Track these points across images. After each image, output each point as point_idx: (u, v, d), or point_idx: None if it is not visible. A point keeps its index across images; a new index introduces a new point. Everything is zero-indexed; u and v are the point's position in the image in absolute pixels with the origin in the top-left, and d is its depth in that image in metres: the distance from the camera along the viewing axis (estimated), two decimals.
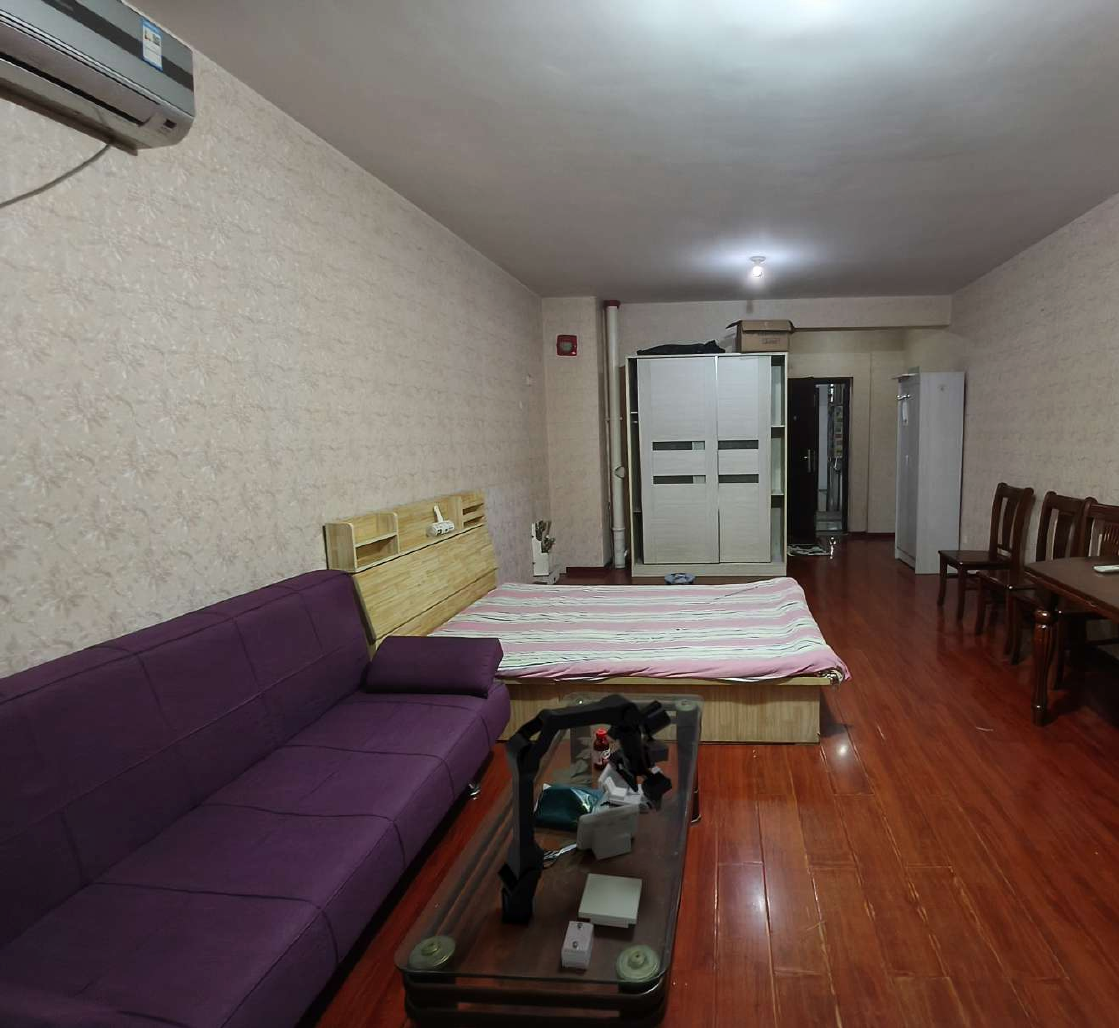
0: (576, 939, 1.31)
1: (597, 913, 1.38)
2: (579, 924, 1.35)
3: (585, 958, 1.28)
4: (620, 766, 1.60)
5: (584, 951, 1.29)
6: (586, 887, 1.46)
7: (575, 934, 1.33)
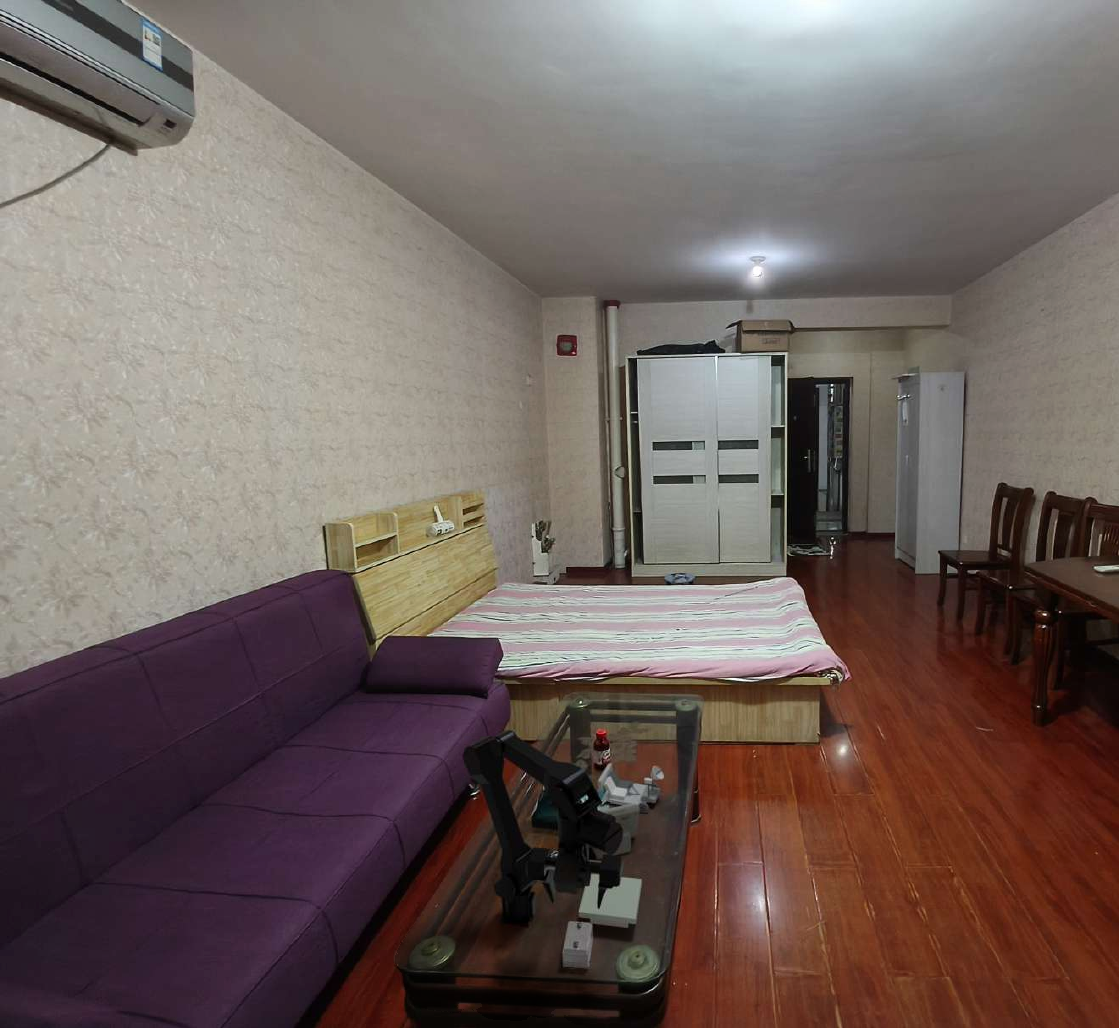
0: (576, 939, 1.31)
1: (597, 913, 1.38)
2: (578, 924, 1.35)
3: (586, 958, 1.28)
4: None
5: (585, 951, 1.29)
6: (586, 887, 1.46)
7: (575, 934, 1.33)
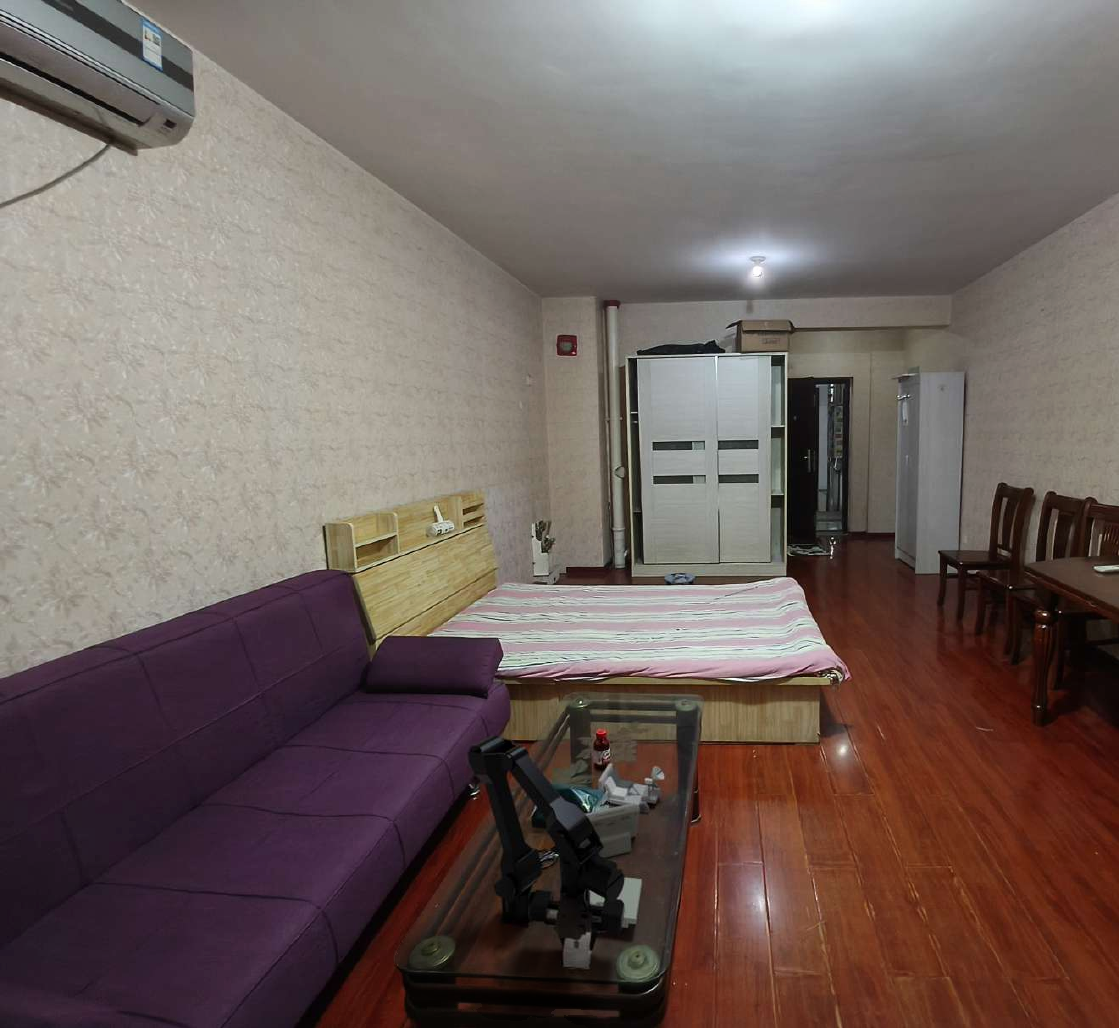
0: None
1: None
2: None
3: (587, 956, 1.28)
4: None
5: (586, 949, 1.29)
6: None
7: None
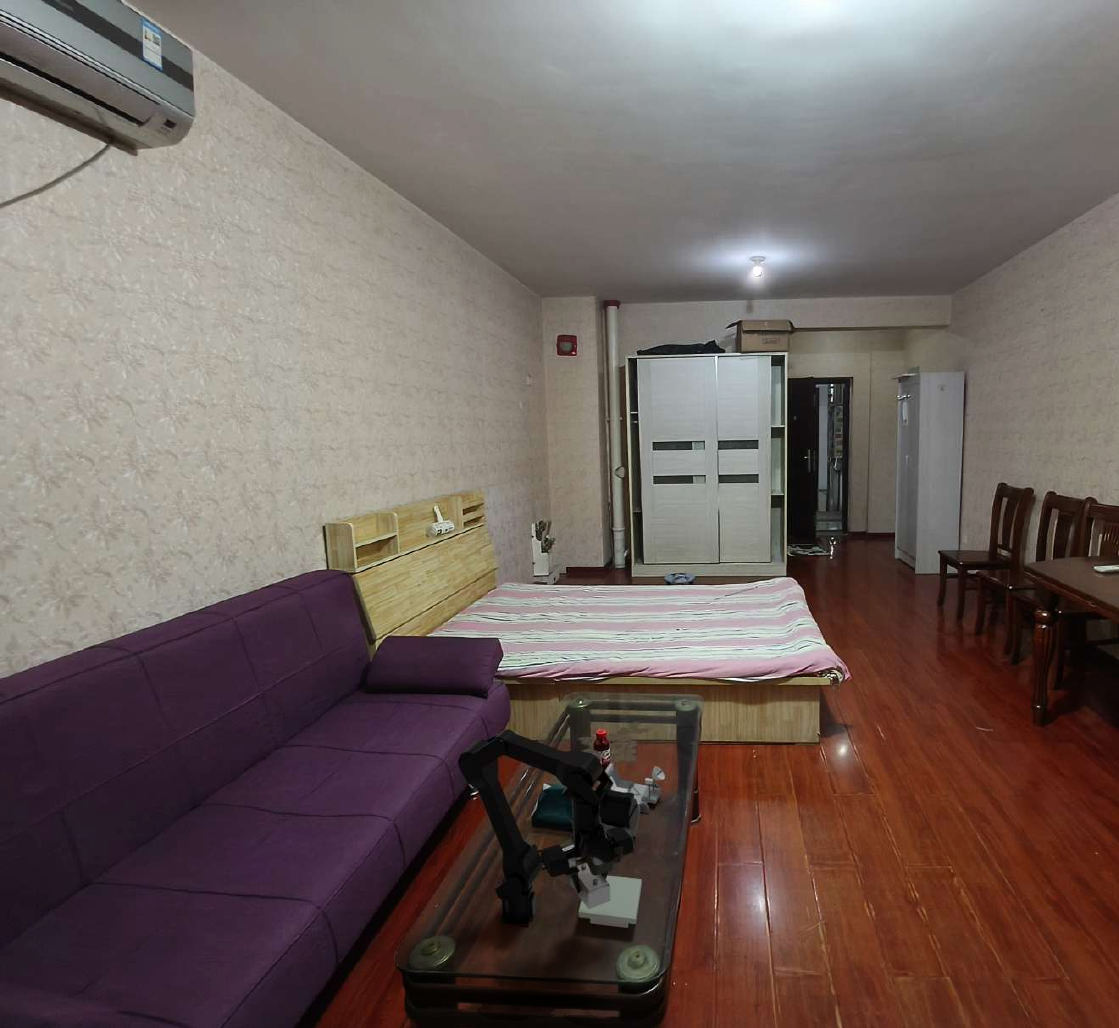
0: (591, 878, 1.34)
1: (597, 913, 1.38)
2: (583, 866, 1.37)
3: (608, 888, 1.33)
4: None
5: (606, 882, 1.33)
6: None
7: (586, 875, 1.35)
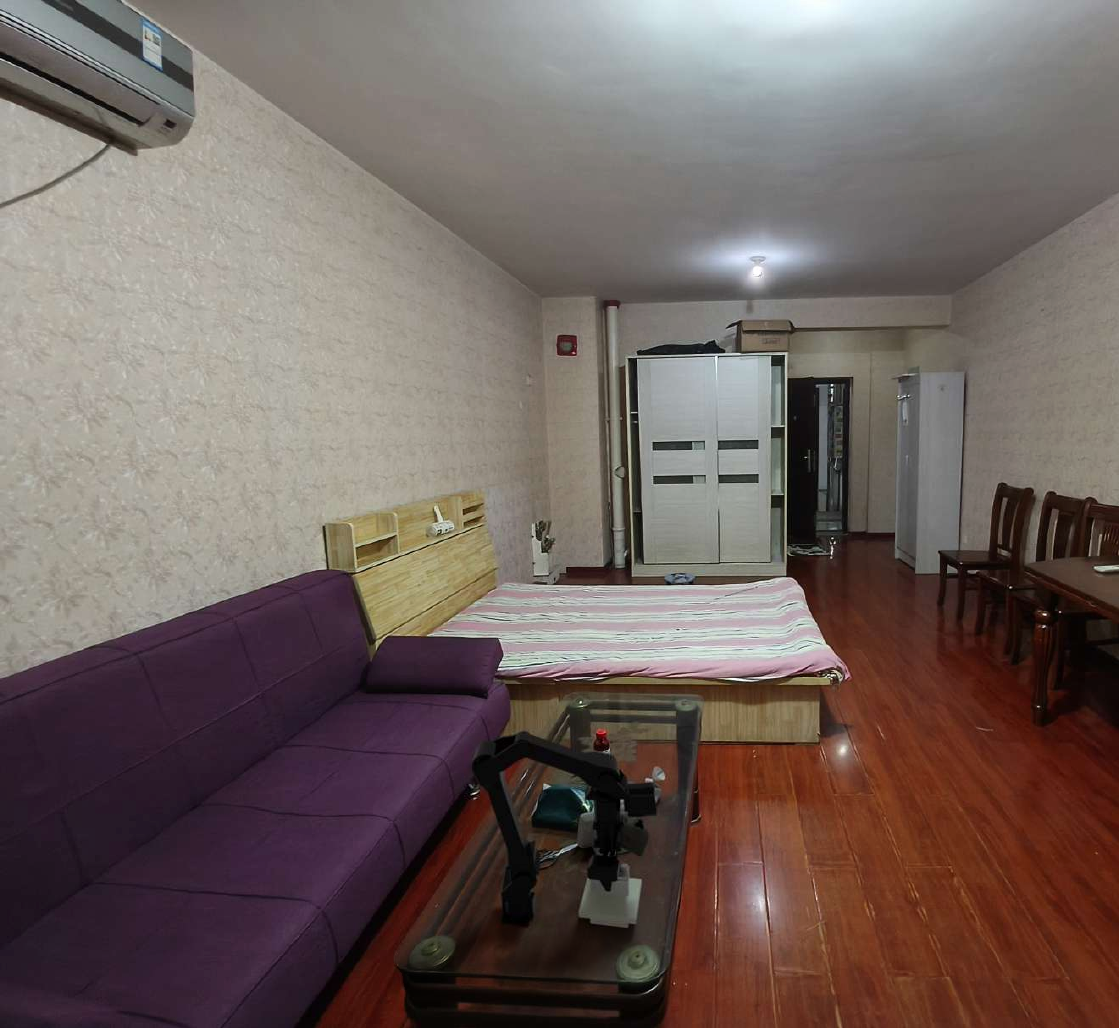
0: None
1: (597, 913, 1.38)
2: None
3: None
4: None
5: (626, 865, 1.44)
6: (586, 887, 1.46)
7: None
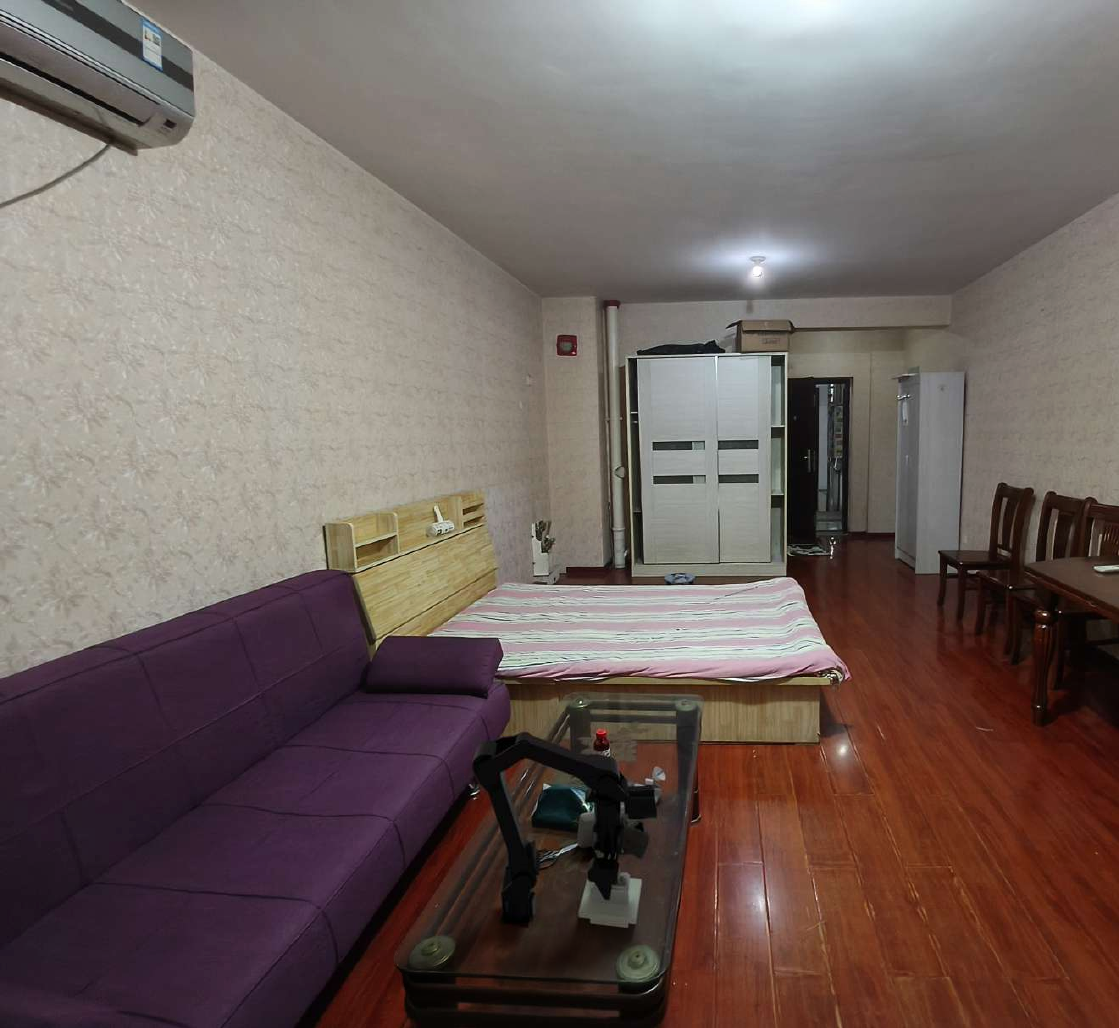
0: None
1: (597, 913, 1.38)
2: None
3: (629, 878, 1.44)
4: None
5: (627, 874, 1.44)
6: (586, 887, 1.46)
7: None
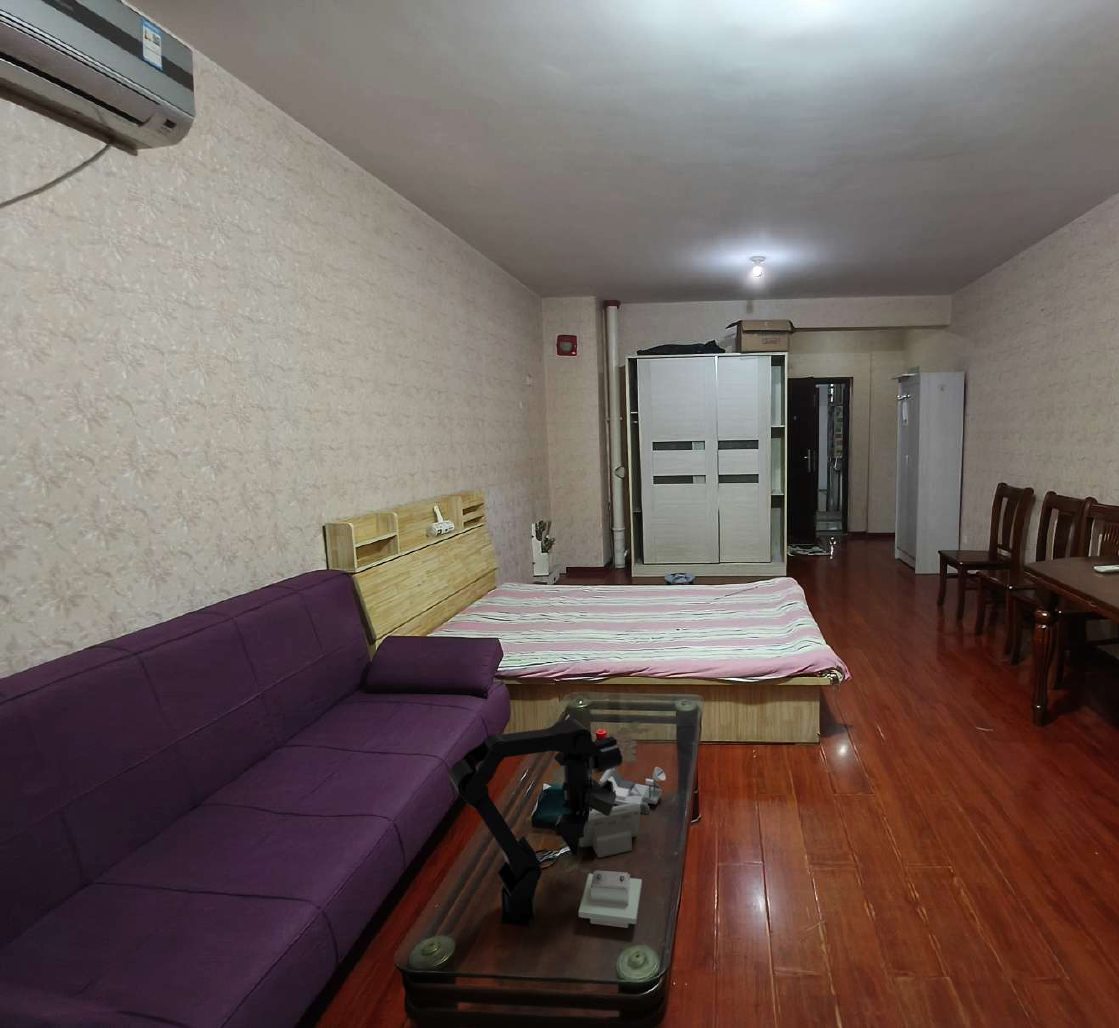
0: (615, 878, 1.42)
1: (597, 913, 1.38)
2: (598, 875, 1.43)
3: (629, 878, 1.44)
4: None
5: (627, 874, 1.44)
6: (586, 887, 1.46)
7: (609, 879, 1.42)
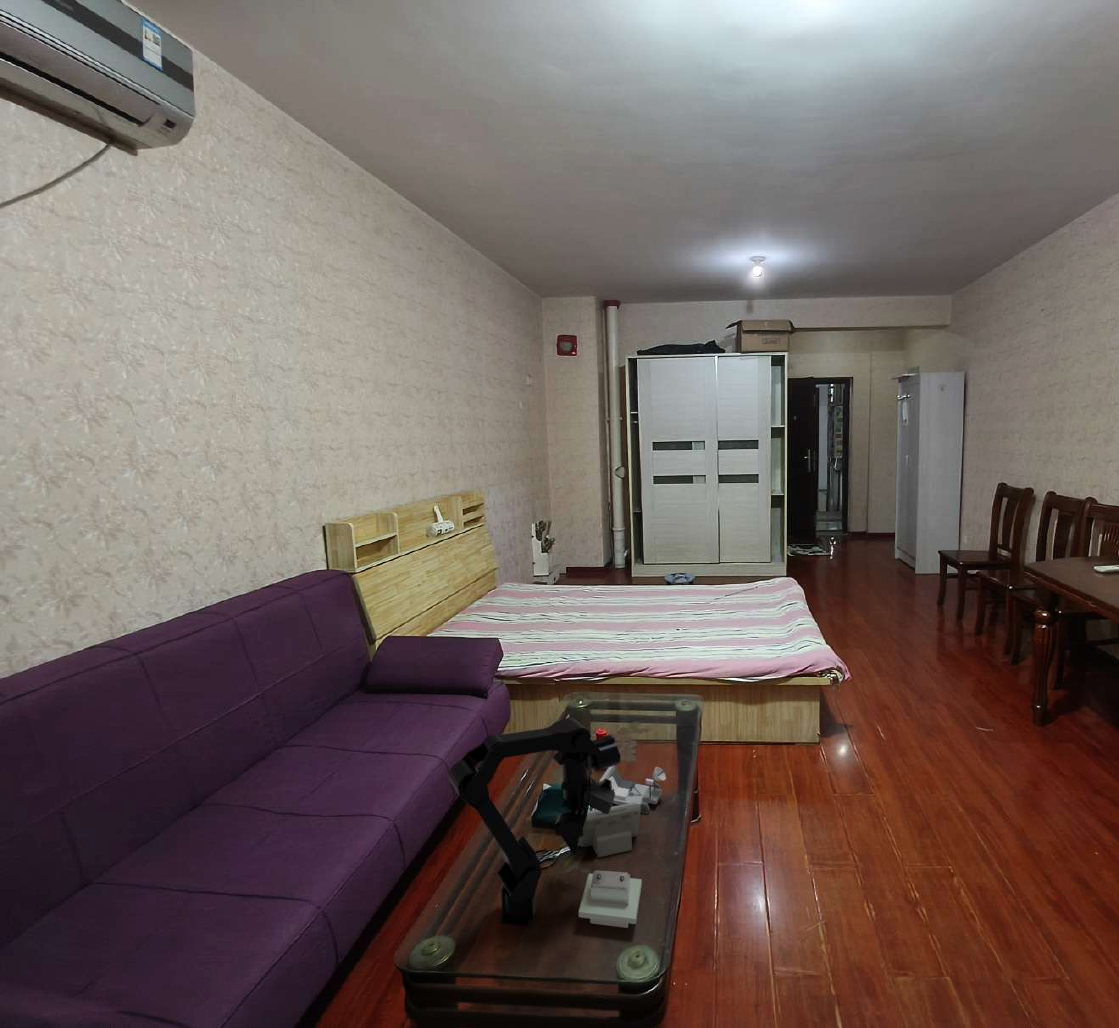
0: (615, 878, 1.42)
1: (597, 913, 1.38)
2: (598, 875, 1.43)
3: (629, 878, 1.44)
4: None
5: (627, 874, 1.44)
6: (586, 887, 1.46)
7: (609, 879, 1.42)
